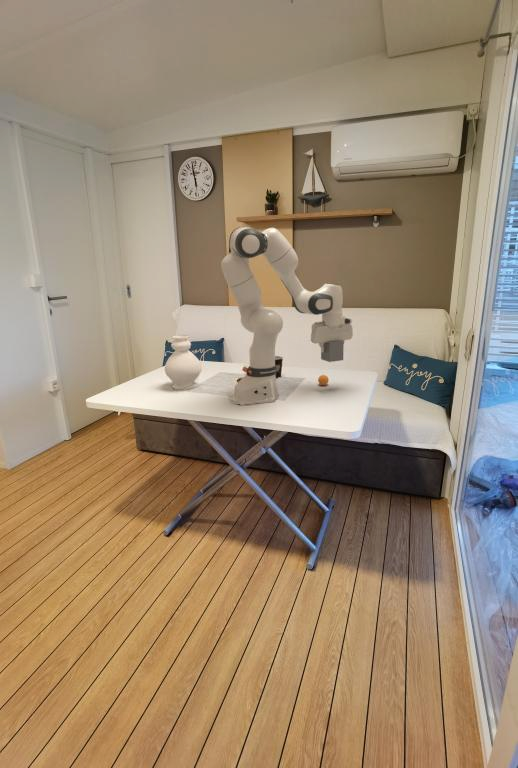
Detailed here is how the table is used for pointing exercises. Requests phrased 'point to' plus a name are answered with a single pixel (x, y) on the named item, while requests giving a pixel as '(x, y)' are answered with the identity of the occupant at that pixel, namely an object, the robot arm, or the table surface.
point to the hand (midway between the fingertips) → (331, 351)
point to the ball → (323, 380)
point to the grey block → (333, 351)
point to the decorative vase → (182, 364)
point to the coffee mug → (278, 365)
